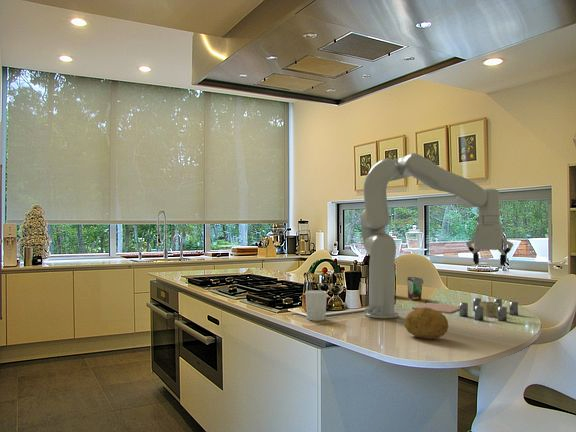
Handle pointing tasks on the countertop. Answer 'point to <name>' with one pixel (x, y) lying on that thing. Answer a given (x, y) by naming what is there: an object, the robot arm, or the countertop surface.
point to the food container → (414, 288)
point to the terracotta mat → (439, 307)
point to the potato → (426, 323)
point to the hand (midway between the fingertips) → (489, 264)
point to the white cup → (316, 305)
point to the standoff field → (480, 309)
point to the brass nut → (490, 309)
